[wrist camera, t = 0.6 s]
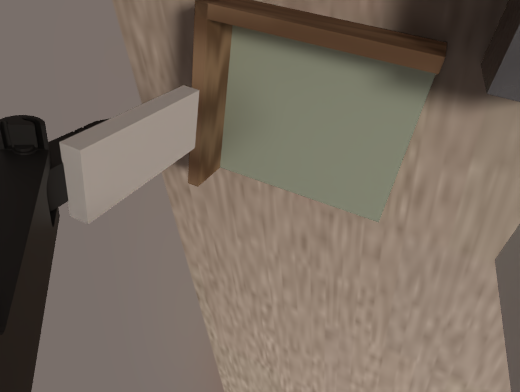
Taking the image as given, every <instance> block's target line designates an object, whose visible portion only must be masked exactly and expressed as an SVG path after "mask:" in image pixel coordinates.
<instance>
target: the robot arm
mask: <svg viewBox="0 0 520 392" xmlns="http://www.w3.org/2000/svg"><path fill="white" fill-rule="evenodd" d="M198 102H199V90H197V89H194V88H191V87H188V86H185V85H183V86H181V87H179V88H176V89H174V90H172V91H170V92H168V93H165V94H163V95H161V96H159V97H157V98H154V99H152V100H150V101H148V102H146V103H144V104H141V105H139V106H137V107H135V108H133V109H130V110H128V111H126V112H124V113H122V114H120V115H117V116H115V117H113V118H111V119H106V120H100V121H95V122H93V123H90V124H88V125H86V126H84V128H79V129H77V130H75V132H70V133H68V134H66V135H64V136H61V137H59V138H57V139H55V140H52V141H50V142H48V139H47V133H46V126H45V122H44V121H43V120H42V119H40V118H38V117H34V116H27V115H18V116H17V115H16V116H10V117H5V118H3V119H0V392H31V389H32V383H33V377H34V371H35V365H36V359H37V352H38V346H39V340H40V334H41V327H42V321H43V315H44V309H45V303H46V297H47V290H48V284H49V278H50V272H51V265H52V259H53V254H54V247H55V241H56V235H57V229H58V223H59V216H60V215H59V209H58V207H59V206H61V205H62V204H64V203H66V202H67V201H68V208H69V215H70V216H71V217H73V218H75V219H78V220H80V221H82V222H84V223H86V224H89V223H91V222H92V221H94V220H95V219H96V218H98V217H99V216H101V215H102V214H103V213H105V212H106V211H108V210H109V209H110V208H112V207H113V206H114V205H116V204H117V203H119V202H120V201H121V200H123V199H124V198H126V197H127V196H128V195H130V194H131V193H133V192H134V191H135V190H137V189H138V188H140V187H141V186H142V185H144V184H145V183H146V182H148V181H149V180H151V179H152V178H154V177H155V176H156V175H158V174H159V173H161V172H162V171H163V170H165V169H166V168H168V167H169V166H170V165H172V164H173V163H175V162H176V161H177V160H179V159H180V158H182V157H183V156H184V155H186V154H187V153H189V152H190V151H191V150H193V149H194V148H195V140H196V127H197V115H198ZM495 265H496V273H497V281H498V289H499V297H500V305H501V313H502V321H503V329H504V337H505V345H506V353H507V361H508V370H509V378H510V386H511V392H520V224H519V226H518V227H517V229H516V230H515V232H514V233H513V234H512V236H511V237H510V239H509V240H508V242H507V243H506V244H505V246H504V247H503V249H502V250H501V252H500V253H499V255H498V256H497V257H496V259H495Z"/></svg>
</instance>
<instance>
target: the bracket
mask: <svg viewBox="0 0 520 392" xmlns="http://www.w3.org/2000/svg"><path fill="white" fill-rule="evenodd" d="M481 68H482V73H483V77H484V82H485V87H486V92H487V94H490V95H494V96H498V97H502V98H506V99H511V100H515V101H519V102H520V0H509V1H508V3H507V5H506V8H505V10H504V12H503V14H502V17H501V19H500V21H499V23H498V26H497V28H496V30H495V32H494V35H493V37H492V39H491V41H490V44H489V46H488V48H487V51H486V53H485V55H484V57H483V60H482V62H481Z"/></svg>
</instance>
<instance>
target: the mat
mask: <svg viewBox="0 0 520 392" xmlns="http://www.w3.org/2000/svg"><path fill="white" fill-rule="evenodd" d="M434 77H435V73H431V72H427V71H422V70H418V69H414V68H410V67H406V66H402V65H397V64H393V63H389V62H385V61H381V60H376V59H372V58H368V57H364V56H360V55H356V54H351V53H347V52H343V51H339V50H335V49H330V48H326V47H322V46H318V45H314V44H310V43H305V42H301V41H297V40H293V39H289V38H284V37H280V36H276V35H272V34H268V33H264V32H259V31H255V30H251V29H247V28H243V27H238V26H234V25H233V27H232V38H231V49H230V61H229V72H228V83H227V94H226V105H225V117H224V128H223V139H222V150H221V161H220V167H221V168H224V169H226V170H229V171H232V172H235V173H238V174H241V175H244V176H247V177H249V178H252V179H255V180H258V181H261V182H264V183H267V184H270V185H273V186H275V187H278V188H281V189H284V190H287V191H290V192H293V193H296V194H298V195H301V196H304V197H307V198H310V199H313V200H316V201H319V202H321V203H324V204H327V205H330V206H333V207H336V208H339V209H342V210H345V211H347V212H350V213H353V214H356V215H359V216H362V217H365V218H368V219H370V220H373V221H376V222H379V220H380V217H381V215H382V212H383V209H384V207H385V204H386V202H387V199H388V197H389V194H390V191H391V189H392V186H393V184H394V181H395V178H396V176H397V173H398V171H399V168H400V165H401V163H402V160H403V158H404V155H405V152H406V150H407V147H408V145H409V142H410V139H411V137H412V134H413V132H414V129H415V126H416V124H417V121H418V119H419V116H420V113H421V111H422V108H423V106H424V103H425V100H426V98H427V95H428V93H429V90H430V87H431V85H432V82H433V80H434Z"/></svg>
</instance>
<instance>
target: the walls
mask: <svg viewBox="0 0 520 392" xmlns="http://www.w3.org/2000/svg"><path fill="white" fill-rule="evenodd" d="M233 25H234V26H238V27H243V28H247V29H251V30H255V31H259V32H264V33H268V34H272V35H276V36H280V37H284V38H289V39H293V40H297V41H301V42H305V43H310V44H314V45H318V46H322V47H326V48H330V49H335V50H339V51H343V52H347V53H351V54H356V55H360V56H364V57H368V58H372V59H376V60H381V61H385V62H389V63H393V64H397V65H402V66H406V67H410V68H414V69H418V70H422V71H427V72H431V73H435V74H439V72H440V70H441V67H442V64H443V62H444V59H445V56H446V48H447V43H446V42H442V41H437V40H433V39H428V38H423V37H419V36H414V35H410V34H405V33H400V32H396V31H391V30H387V29H382V28H377V27H373V26H368V25H364V24H359V23H355V22H350V21H345V20H341V19H336V18H332V17H327V16H322V15H318V14H313V13H309V12H304V11H299V10H295V9H290V8H286V7H281V6H276V5H272V4H267V3H263V2H258V1H253V0H195V17H194V43H193V69H192V88H194V89H197V90H199V102H198V115H197V127H196V140H195V148H194V149H193V150H191V151H190V152H189V175H188V183H189V184H192V185H195V186H197V187H198V186H199V185H200V184H201V183H203V182H204V181H205V180H206V179H207V178H208V177H209V176H211V175H212V174H213V173H214V172H215V171H216V170H217V169H219V168H220V161H221V150H222V139H223V128H224V117H225V105H226V94H227V83H228V72H229V61H230V49H231V38H232V27H233Z"/></svg>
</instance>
